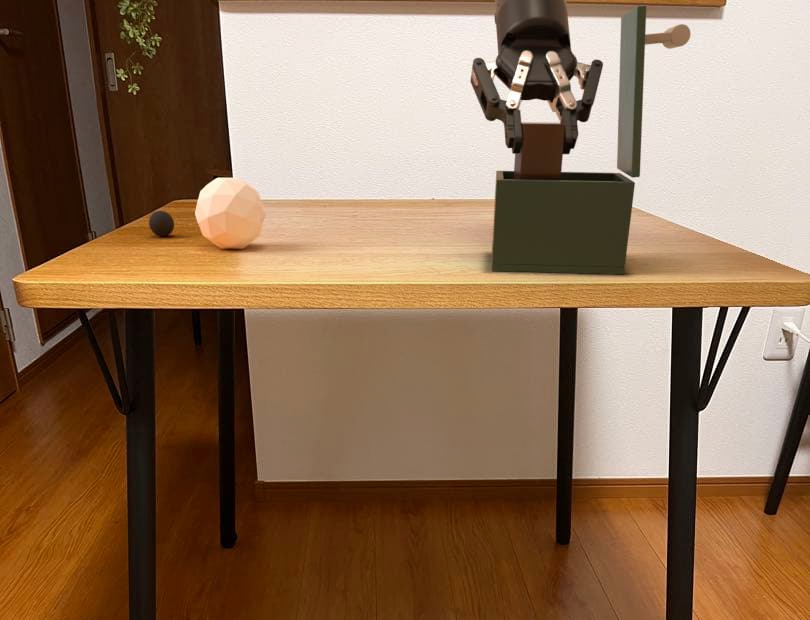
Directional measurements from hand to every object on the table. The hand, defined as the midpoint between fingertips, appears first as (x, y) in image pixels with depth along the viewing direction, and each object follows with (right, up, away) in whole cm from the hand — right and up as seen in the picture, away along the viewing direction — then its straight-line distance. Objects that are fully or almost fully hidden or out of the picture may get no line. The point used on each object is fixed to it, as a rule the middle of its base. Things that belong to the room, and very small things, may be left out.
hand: (542, 147), depth 88 cm
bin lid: (+8, +5, -1) cm, 9 cm away
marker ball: (-44, -2, +21) cm, 49 cm away
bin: (+2, -9, +7) cm, 12 cm away
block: (0, -5, +5) cm, 7 cm away
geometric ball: (-34, -6, +14) cm, 37 cm away
